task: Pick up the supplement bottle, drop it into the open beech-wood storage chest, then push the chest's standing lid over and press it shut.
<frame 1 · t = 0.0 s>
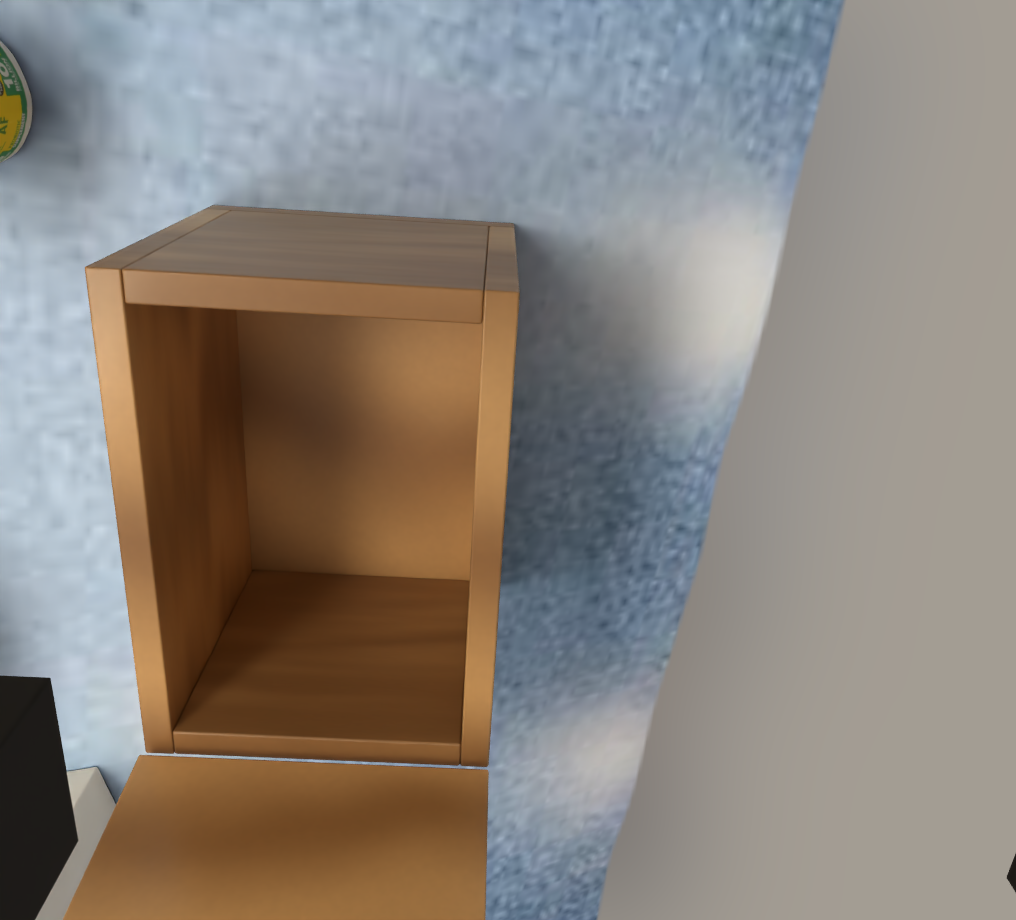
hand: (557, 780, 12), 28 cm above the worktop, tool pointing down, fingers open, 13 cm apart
milk: (68, 813, 49), on the worktop
chest: (364, 413, 39), on the worktop
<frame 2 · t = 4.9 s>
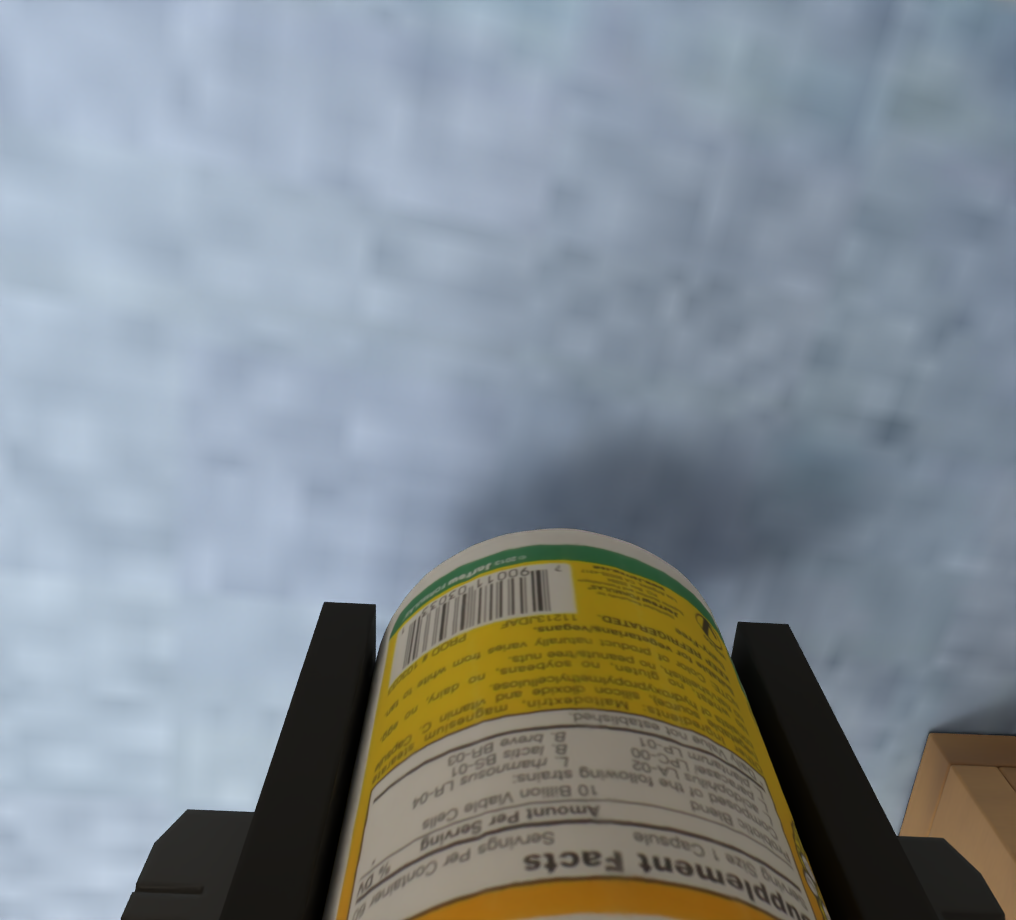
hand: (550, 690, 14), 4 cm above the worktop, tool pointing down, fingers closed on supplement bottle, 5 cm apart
supplement bottle: (549, 663, 14), point 4 cm above the worktop, touching gripper
when the fingers open (11 cm above the worktop, at t = 12.1 s): supplement bottle stays where it is, resting on chest.
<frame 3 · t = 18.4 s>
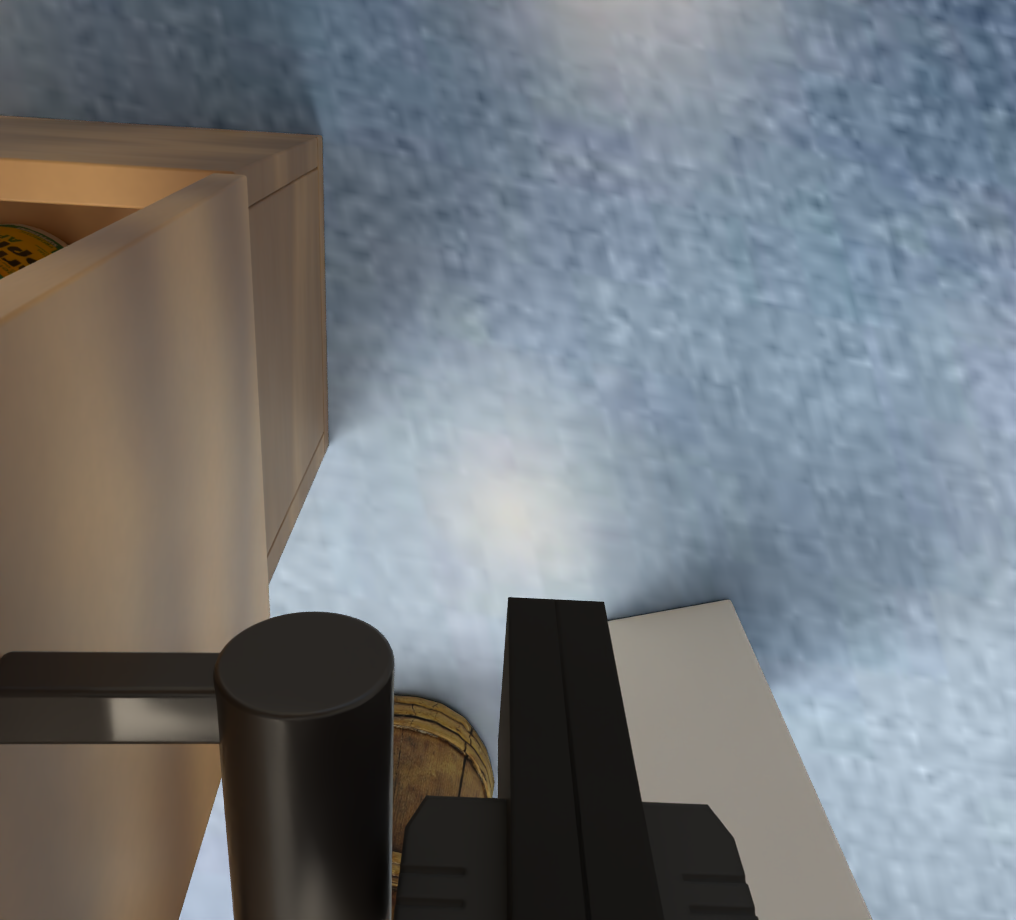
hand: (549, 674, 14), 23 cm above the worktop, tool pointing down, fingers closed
supplement bottle: (33, 293, 33), point 1 cm above the worktop, touching chest
milk: (671, 660, 42), on the worktop
chest: (100, 289, 34), on the worktop
chest lid: (262, 611, 15), point 21 cm above the worktop, hinge at 93.2°, touching gripper
wooden mug: (407, 801, 45), on the worktop
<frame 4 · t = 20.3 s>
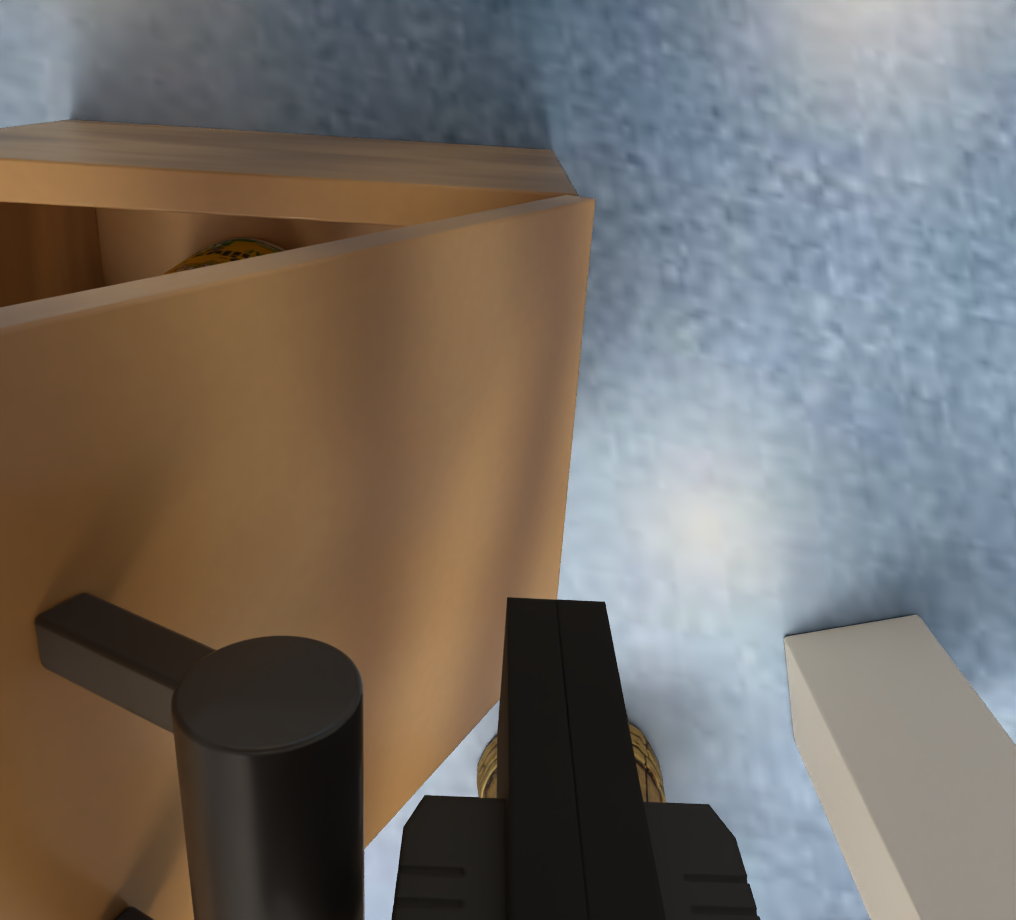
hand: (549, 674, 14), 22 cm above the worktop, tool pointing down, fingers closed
supplement bottle: (255, 306, 34), point 1 cm above the worktop, touching chest
milk: (851, 675, 41), on the worktop
chest: (317, 302, 34), on the worktop
chest lid: (434, 630, 15), point 21 cm above the worktop, hinge at 61.1°, touching gripper
wooden mug: (573, 813, 45), on the worktop
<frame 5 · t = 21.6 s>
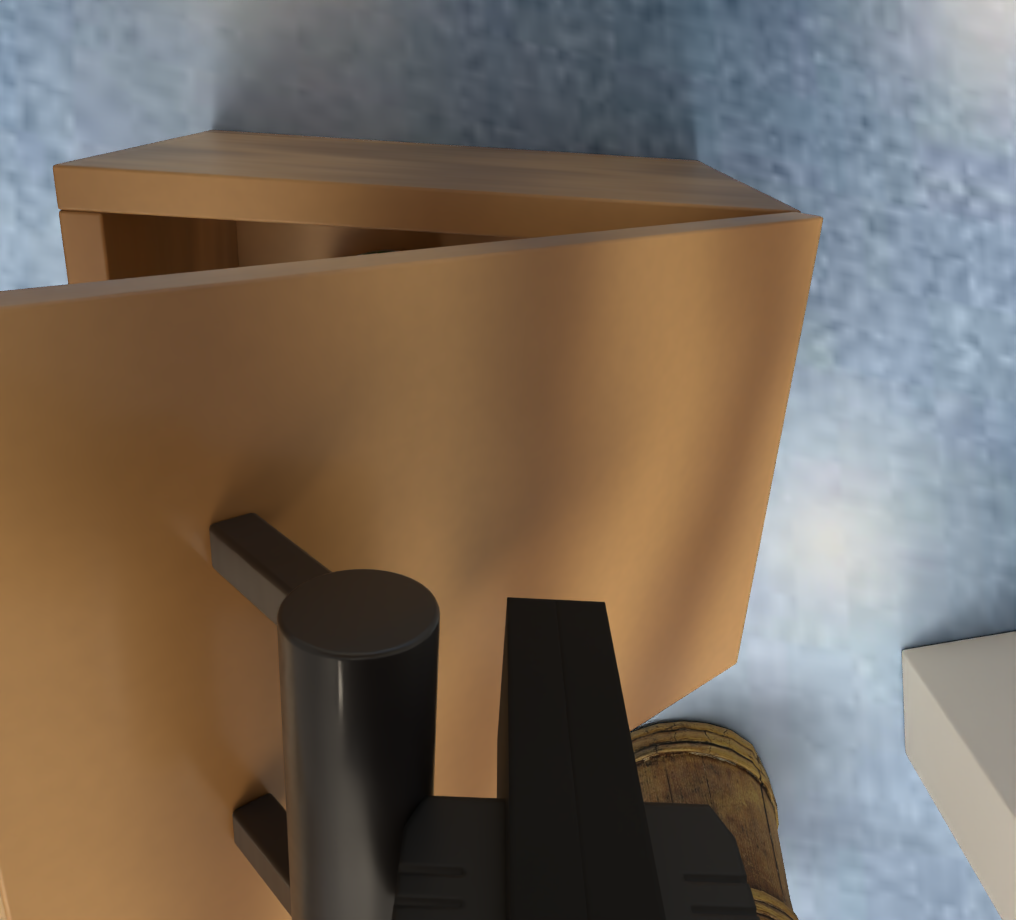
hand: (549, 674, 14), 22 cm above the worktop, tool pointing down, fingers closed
milk: (966, 688, 41), on the worktop
chest: (450, 314, 34), on the worktop
chest lid: (574, 613, 16), point 20 cm above the worktop, hinge at 42.0°, touching gripper
wooden mug: (677, 826, 44), on the worktop
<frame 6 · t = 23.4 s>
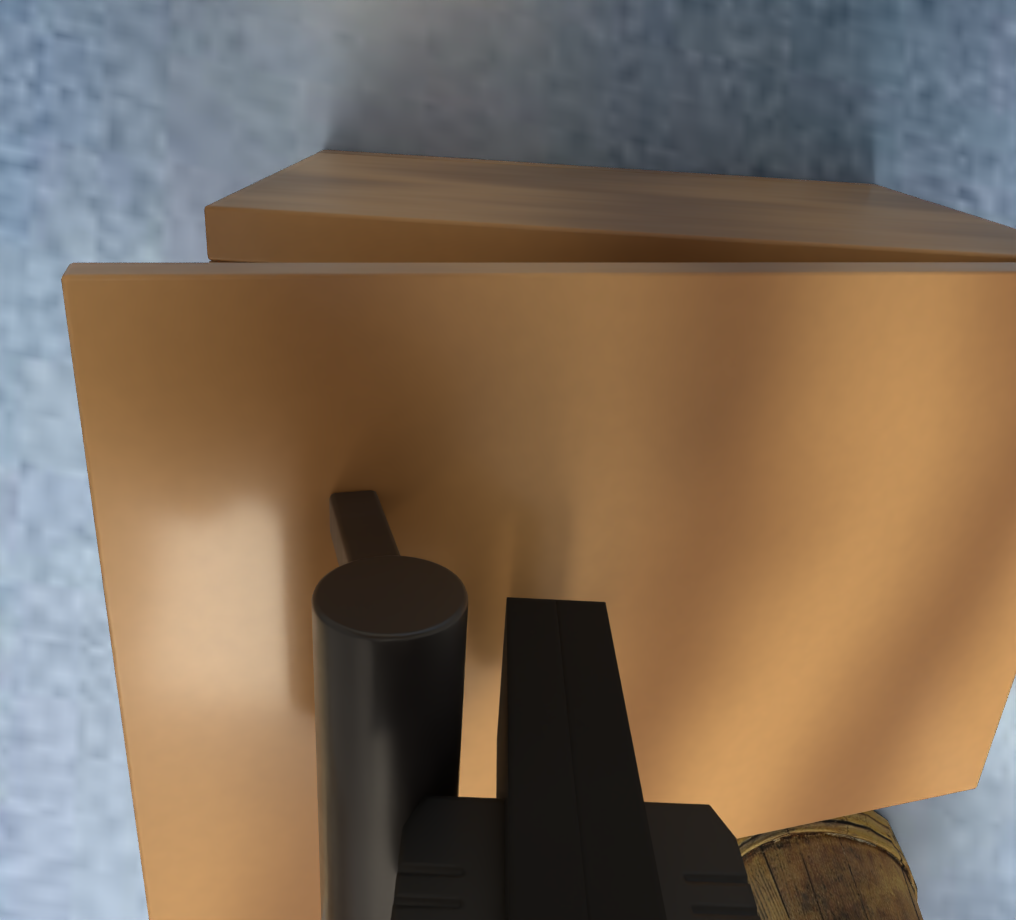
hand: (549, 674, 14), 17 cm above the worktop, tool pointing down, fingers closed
chest: (583, 355, 30), on the worktop
chest lid: (706, 667, 15), point 17 cm above the worktop, hinge at 16.5°
wooden mug: (797, 905, 41), on the worktop
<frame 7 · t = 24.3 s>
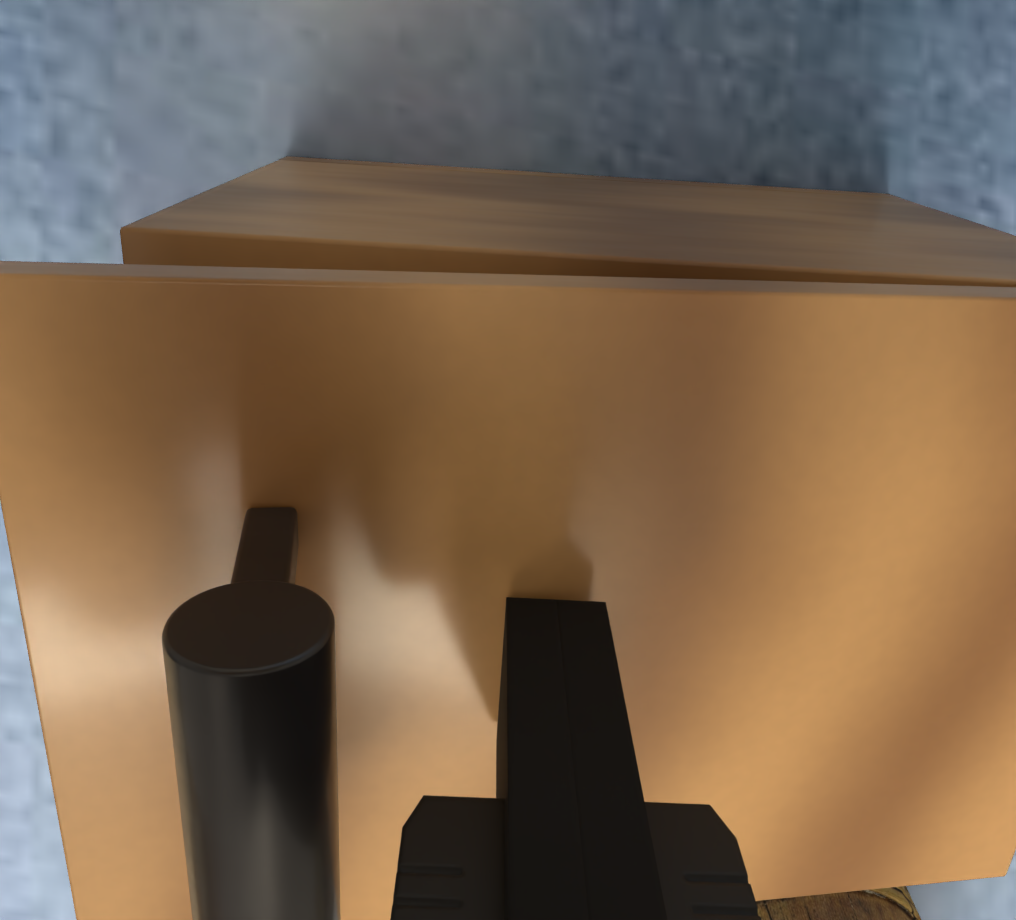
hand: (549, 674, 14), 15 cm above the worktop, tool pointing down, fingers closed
chest: (571, 378, 28), on the worktop
chest lid: (652, 721, 13), point 16 cm above the worktop, hinge at 8.7°, touching gripper
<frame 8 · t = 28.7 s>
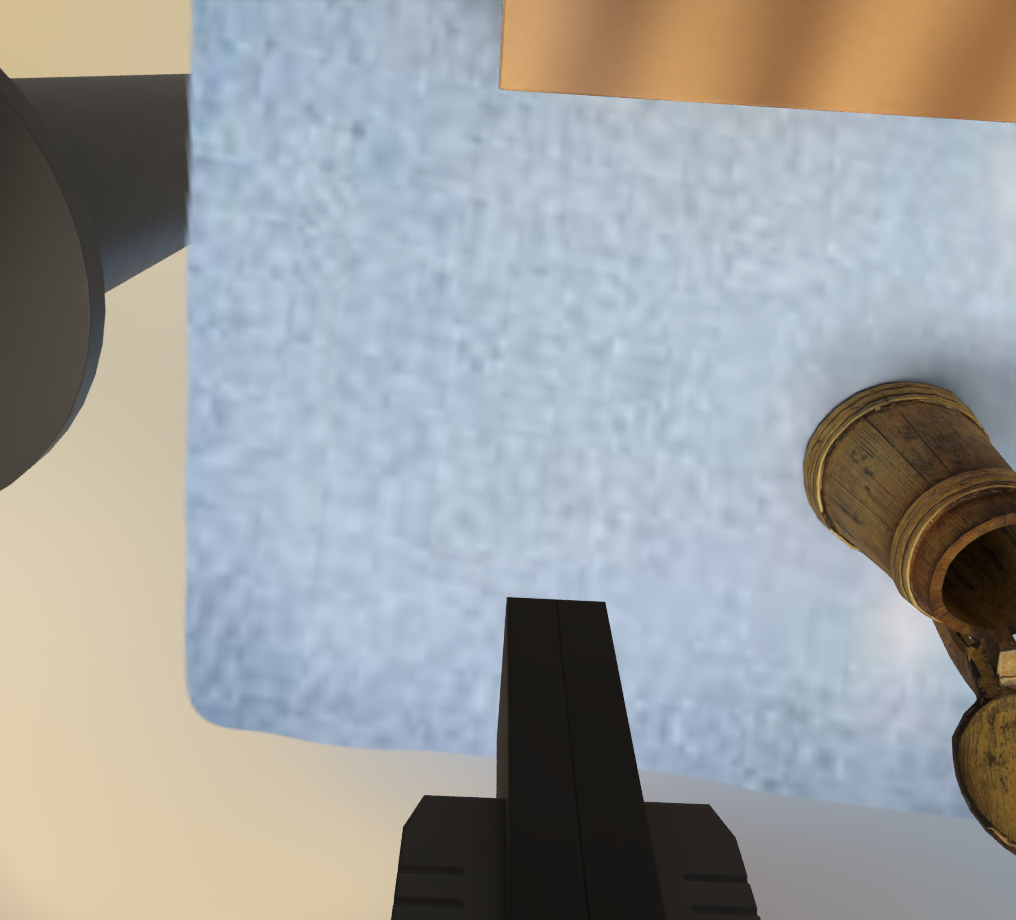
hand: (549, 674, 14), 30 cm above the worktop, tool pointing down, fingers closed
wooden mug: (886, 502, 47), on the worktop
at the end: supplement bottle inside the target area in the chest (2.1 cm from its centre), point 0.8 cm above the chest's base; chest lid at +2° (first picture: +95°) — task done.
